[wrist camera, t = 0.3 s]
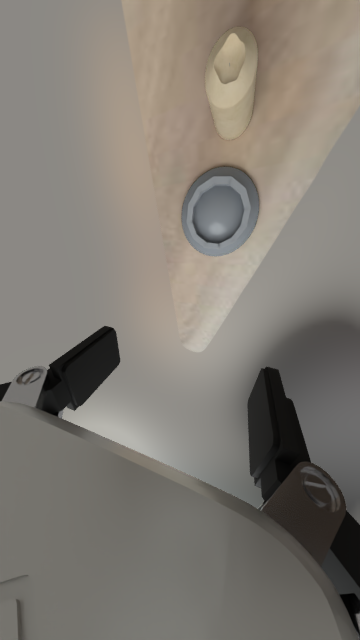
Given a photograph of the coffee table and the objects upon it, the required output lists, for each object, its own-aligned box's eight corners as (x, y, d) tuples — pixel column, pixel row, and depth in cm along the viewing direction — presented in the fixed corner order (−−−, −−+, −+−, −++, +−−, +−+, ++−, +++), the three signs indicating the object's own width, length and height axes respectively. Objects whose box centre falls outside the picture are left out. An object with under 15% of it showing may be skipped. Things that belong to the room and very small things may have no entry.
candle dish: (185, 168, 30) (182, 164, 28) (269, 167, 27) (271, 163, 25) (180, 251, 37) (177, 252, 35) (246, 259, 33) (247, 261, 32)
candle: (212, 141, 27) (198, 102, 19) (218, 89, 25) (206, 16, 16) (247, 140, 26) (250, 98, 18) (258, 85, 23) (267, 4, 15)
